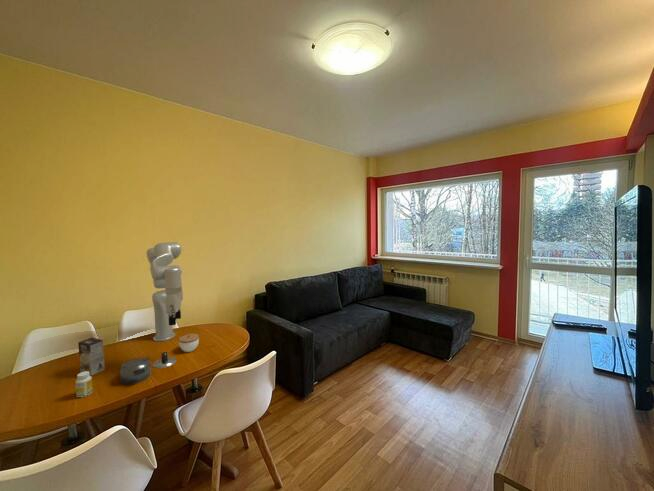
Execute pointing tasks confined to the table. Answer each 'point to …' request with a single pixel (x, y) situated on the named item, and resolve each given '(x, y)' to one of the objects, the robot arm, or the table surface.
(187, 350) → the lidded jar
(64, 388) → the table surface
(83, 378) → the supplement bottle
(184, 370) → the table surface
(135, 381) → the pot
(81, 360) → the coffee box
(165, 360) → the lid
